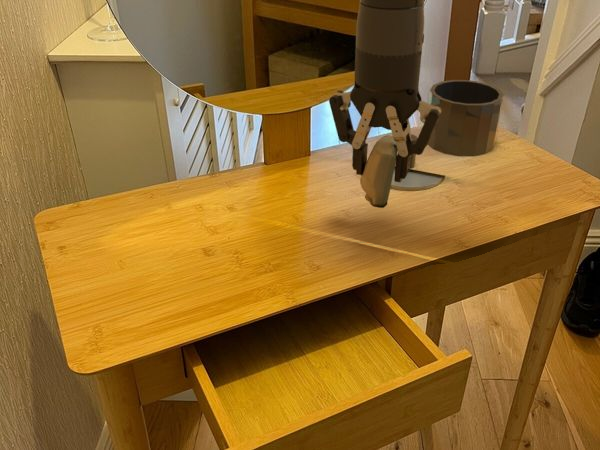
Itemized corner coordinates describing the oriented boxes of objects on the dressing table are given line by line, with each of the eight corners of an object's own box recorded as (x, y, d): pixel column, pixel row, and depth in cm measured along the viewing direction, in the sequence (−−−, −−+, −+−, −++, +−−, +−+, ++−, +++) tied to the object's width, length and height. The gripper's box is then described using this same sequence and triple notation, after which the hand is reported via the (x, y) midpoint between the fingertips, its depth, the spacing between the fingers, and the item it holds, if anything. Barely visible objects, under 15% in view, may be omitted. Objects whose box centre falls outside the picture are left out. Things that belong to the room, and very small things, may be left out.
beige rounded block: (409, 205, 80) (414, 148, 76) (372, 213, 79) (376, 156, 74) (388, 185, 85) (391, 131, 81) (353, 192, 83) (355, 137, 79)
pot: (496, 143, 109) (507, 85, 103) (486, 171, 100) (497, 109, 94) (432, 132, 112) (439, 76, 107) (416, 158, 104) (423, 98, 98)
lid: (451, 165, 102) (457, 128, 98) (434, 200, 92) (440, 161, 89) (378, 152, 106) (381, 116, 102) (354, 184, 96) (357, 146, 93)
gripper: (318, 45, 70) (317, 179, 80) (444, 59, 66) (428, 200, 75) (341, 28, 76) (338, 154, 85) (458, 40, 71) (442, 173, 81)
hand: (380, 175), depth 80 cm, fingers closed on beige rounded block, 4 cm apart
